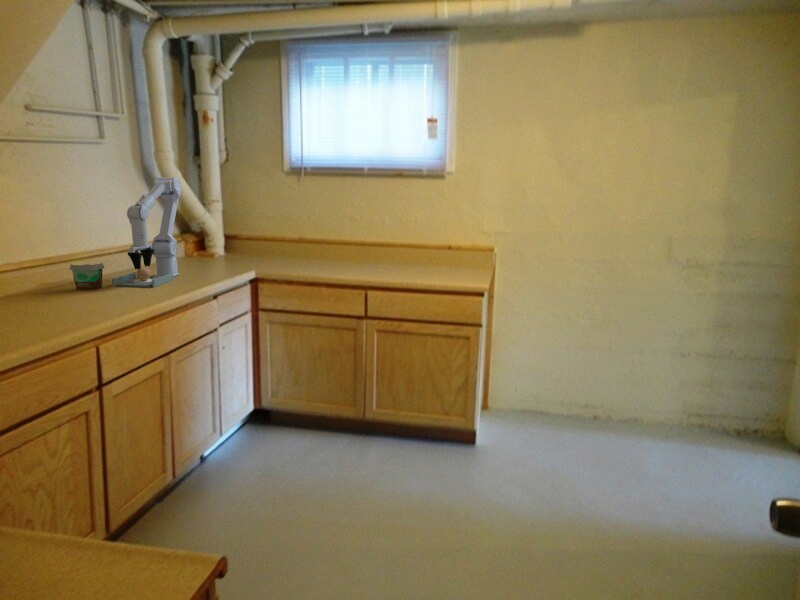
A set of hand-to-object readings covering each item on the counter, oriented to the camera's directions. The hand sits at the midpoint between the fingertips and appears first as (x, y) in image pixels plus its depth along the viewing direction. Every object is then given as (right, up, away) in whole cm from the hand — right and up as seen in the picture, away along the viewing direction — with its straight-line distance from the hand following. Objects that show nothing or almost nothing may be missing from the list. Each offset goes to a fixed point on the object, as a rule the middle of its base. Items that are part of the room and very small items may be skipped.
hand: (142, 267), depth 242 cm
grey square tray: (0, -6, +1) cm, 7 cm away
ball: (0, -3, +1) cm, 3 cm away
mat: (0, -6, +1) cm, 7 cm away
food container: (-16, -10, -13) cm, 23 cm away
